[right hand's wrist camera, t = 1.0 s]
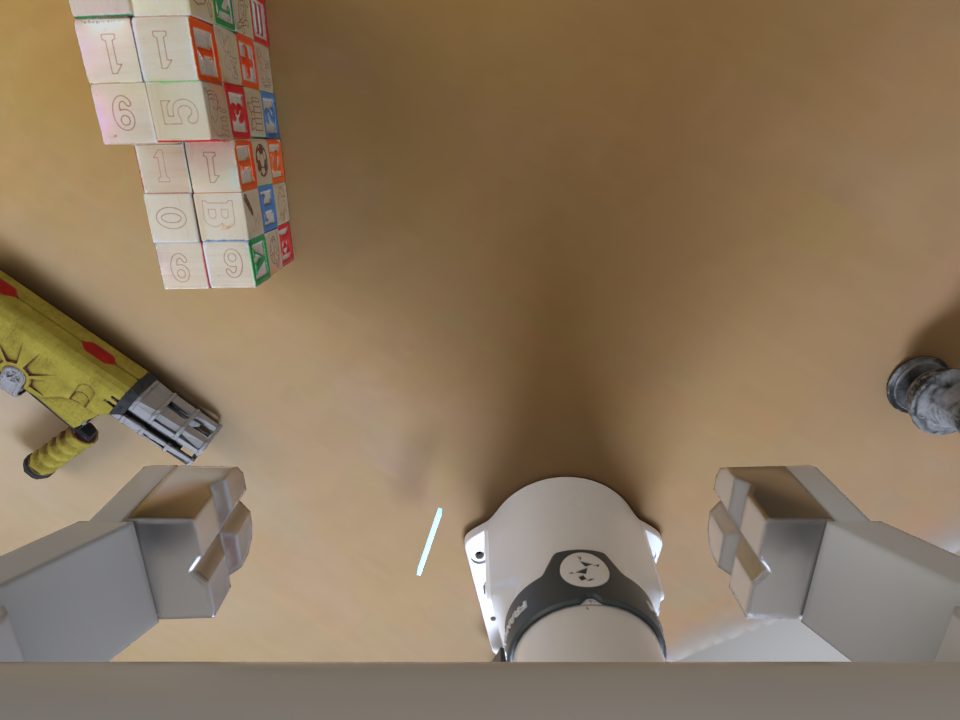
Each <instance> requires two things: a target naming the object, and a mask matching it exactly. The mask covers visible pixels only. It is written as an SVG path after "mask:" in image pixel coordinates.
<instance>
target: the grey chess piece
mask: <svg viewBox="0 0 960 720" xmlns="http://www.w3.org/2000/svg"><path fill="white" fill-rule="evenodd" d="M887 397H888V400H889V402H890V403H891V405H892V406H893V407H894V408H896V409H898V410H899V411H901V412H906V413H909V414H910V416H911V418H912V420H913V423H914V424H915V425H916V426H917V427H918V428H919V429H920V430H922V431H924V432H926V433H929V434H934V435H945V434H949V433H953V432H956V431H958V432H959V433H960V369H954V368H949V367H948V366H947V365H946V364H945V362H943V361H941V360H940V359H938V358H934V357H930V356H928V357H918V358H915V359H912V360H910V361H908V362H906V363H904V364H903V365H902V366H900V367H899V368H898V369H897V370H896V371H895V372H894V374H893V375H892V377H891V378H890V380H889V382H888V387H887Z"/></svg>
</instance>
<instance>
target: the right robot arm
mask: <svg viewBox="0 0 960 720" xmlns="http://www.w3.org/2000/svg"><path fill="white" fill-rule="evenodd" d="M245 490H246V485H245V480H244V475H243V472H242V471H241V470H240V469H239V468H238V467H226V466H177V465H158V466H147V467H143V468H142V469H141V470H140V471H139V472H138V473H137V474H136V475H135V476H134V477H133V478H132V479H131V480H130V481H129V482H128V483H127V484H126V485H125V486H124V487H123V488H122V489H121V490H120V491H119V492H118V493H117V494H116V495H115V496H114V497H113V498H112V499H111V500H110V501H109V502H108V503H107V504H106V505H105V506H104V507H103V508H102V509H101V510H100V511H99V512H98V513H97V514H96V515H95V516H94V517H93V518H92V519H91V520H90V521H79V522H77V523H75V524H72V525H70V526H68V527H66V528H63V529H61V530H59V531H57V532H54V533H52V534H50V535H48V536H45V537H43V538H41V539H39V540H36V541H34V542H32V543H30V544H27V545H25V546H23V547H21V548H18V549H16V550H14V551H12V552H9V553H7V554H5V555H2V556H0V720H960V557H959V556H957V555H955V554H953V553H951V552H948V551H946V550H944V549H942V548H939V547H937V546H935V545H933V544H930V543H928V542H926V541H924V540H921V539H919V538H917V537H915V536H912V535H910V534H908V533H906V532H903V531H901V530H899V529H897V528H894V527H892V526H890V525H888V524H885V523H883V522H881V521H870V520H869V519H868V518H867V517H866V516H865V515H864V514H863V513H862V512H861V511H860V510H859V509H858V508H857V507H856V506H855V505H854V504H853V503H852V502H851V501H850V500H849V499H848V498H847V497H846V496H845V495H844V494H843V493H842V492H841V491H840V490H839V489H838V488H837V487H836V486H835V485H834V484H833V483H832V482H831V481H830V480H829V479H828V478H827V477H826V476H825V475H824V474H823V473H822V472H821V471H820V470H819V469H818V468H816V467H813V466H811V465H795V466H764V467H726V468H720V469H719V471H718V473H717V475H716V479H715V484H714V490H715V492H716V494H717V495H718V497H719V498H720V501H719V502H718V503H717V505H716V506H715V507H714V508H713V509H712V510H711V511H710V514H709V522H708V538H709V546H710V549H711V552H712V555H713V558H714V560H715V561H716V563H717V565H718V567H719V568H721V569H722V570H724V571H725V572H727V573H728V574H730V575H731V579H730V584H729V587H730V589H731V591H732V593H733V595H734V596H735V598H736V600H737V602H738V604H739V605H740V607H741V609H742V611H743V613H744V614H745V616H746V618H773V619H802V620H801V622H802V623H803V624H805V625H806V626H807V627H809V628H810V629H811V630H812V631H814V632H815V633H816V634H817V635H819V636H820V637H821V638H823V639H824V640H825V641H826V642H828V643H829V644H830V645H831V646H833V647H834V648H835V649H836V650H838V651H839V652H840V653H842V654H843V655H844V656H845V657H847V658H848V659H849V660H850V661H852V662H666V645H665V641H664V635H663V630H662V626H661V623H660V620H659V617H658V616H659V612H660V608H659V606H660V601H661V600H663V599H664V590H663V587H662V583H661V580H660V577H659V573H658V570H657V567H656V563H657V560H658V557H659V554H660V552H661V549H662V545H663V543H662V539H661V535H660V533H659V532H658V531H657V530H656V529H654V528H653V527H651V526H650V525H648V524H646V523H645V522H643V521H641V520H639V519H638V518H637V517H636V515H635V514H634V513H633V511H632V510H631V508H630V507H629V506H628V504H627V503H626V502H625V501H624V500H623V498H622V497H620V496H619V495H618V494H617V493H616V492H614V491H613V490H611V489H610V488H608V487H606V486H605V485H602V484H600V483H598V482H595V481H592V480H588V479H584V478H578V477H556V478H549V479H545V480H541V481H537V482H535V483H532V484H530V485H528V486H526V487H524V488H522V489H520V490H518V491H517V492H515V493H514V494H513V495H511V496H510V497H509V498H508V499H507V500H506V501H505V502H504V503H503V504H502V505H501V506H500V507H499V509H498V510H497V511H496V513H495V514H494V515H493V516H492V517H491V518H490V519H489V520H488V521H486V522H485V523H483V524H481V525H479V526H477V527H476V528H474V529H472V530H471V531H470V532H468V533H467V535H466V536H465V538H464V543H465V550H466V554H467V558H468V561H469V565H470V569H471V573H472V577H473V580H474V584H475V588H476V592H477V595H478V599H479V603H480V607H481V611H482V614H483V618H484V622H485V626H486V629H487V633H488V637H489V641H490V645H491V648H492V650H493V652H494V653H495V654H497V655H496V656H495V658H494V660H493V662H108V661H110V660H111V659H112V658H114V657H115V656H116V655H117V654H119V653H120V652H121V651H122V650H124V649H125V648H126V647H128V646H129V645H130V644H131V643H133V642H134V641H135V640H136V639H138V638H139V637H140V636H142V635H143V634H144V633H145V632H147V631H148V630H149V629H150V628H152V627H153V626H154V625H156V624H157V623H158V622H159V621H158V619H186V618H214V616H215V615H216V613H217V611H218V609H219V607H220V605H221V604H222V602H223V600H224V598H225V596H226V595H227V593H228V591H229V589H230V587H231V584H230V579H229V575H230V574H232V573H233V572H235V571H236V570H238V569H239V568H241V567H242V565H243V563H244V561H245V559H246V557H247V555H248V552H249V548H250V544H251V539H252V520H251V514H250V511H249V510H248V509H247V508H246V507H245V506H244V505H243V503H242V502H241V501H240V498H241V497H242V495H243V494H244V492H245ZM441 513H442V509H441V508H438V511H437V514H436V517H435V520H434V523H433V526H432V529H431V531H430V534H429V537H428V540H427V543H426V546H425V549H424V552H423V555H422V558H421V561H420V564H419V567H418V572H417V575H421V572H422V569H423V567H424V564H425V561H426V558H427V555H428V552H429V549H430V546H431V543H432V541H433V538H434V535H435V532H436V529H437V526H438V523H439V520H440V517H441ZM476 552H482V553H481V554H478V553H476Z"/></svg>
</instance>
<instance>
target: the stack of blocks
mask: <svg viewBox="0 0 960 720" xmlns="http://www.w3.org/2000/svg"><path fill="white" fill-rule="evenodd" d="M69 3H70V7H71V11H72V14H73V16H74V17H75V18H76V21H75V24H74V27H75V30H76V36H77V39H78V43H79V47H80V51H81V55H82V59H83V63H84V67H85V71H86V75H87V79H88V81H89V82H90V84H91V93H92V97H93V101H94V105H95V109H96V113H97V117H98V121H99V125H100V129H101V133H102V137H103V141H104V143H105V145H111V144H125V145H134V147H135V152H136V156H137V161H138V166H139V170H140V175H141V180H142V185H143V189H144V201H145V205H146V210H147V215H148V220H149V224H150V229H151V234H152V238H153V242H154V243H155V244H156V251H157V256H158V261H159V265H160V271H161V274H162V280H163V285H164V288H165V289H209V288H237V287H239V288H244V287H248V288H249V287H257V286H259V285H260V284H262V283H263V282H264V281H266V280H267V279H269V278H270V277H271V275H273V274H274V273H276V272H277V271H279V270H281V269H282V268H283V267H284V266H285V265H287V264H289V263H290V262H292V261H293V260H294V256H293V249H292V241H291V234H290V226H289V222H288V221H289V220H290V217H289V208H288V200H287V192H286V184H285V173H284V165H283V156H282V148H281V141H280V139H279V130H278V123H277V114H276V105H275V97H274V94H273V82H272V74H271V66H270V57H269V50H268V48H269V39H268V30H267V21H266V12H265V3H264V0H69Z"/></svg>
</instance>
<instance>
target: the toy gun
mask: <svg viewBox="0 0 960 720" xmlns="http://www.w3.org/2000/svg"><path fill="white" fill-rule="evenodd" d="M0 388H1V389H3V390H4V391H6V392H8V393H9V394H11V395H12V396H13V397H18V396H20V395H22V394H23V393H25V392H26V391H27V392H29V393H30V394H31V395H32V396H33V397H35V398H36V399H37V400H38V401H39V402H41V403H42V404H43V405H44V406H45V407H46V408H48V409H49V410H50V411H51V412H52V413H54V414H55V415H56V416H57V417H58V418H60V419H61V420H62V421H63V422H65V423H66V424H67V425H68V426H70V427H68V428H67V429H66V430H65V431H63V432H61V433H60V434H59V435H58V436H57V437H54V438H52V440H51V441H50V442H49V443H47V444H44V445H43V446H42V447H41V448H40V450H36V451H35V452H34V453H31V454H29V455H28V456H27V457H26V458H25V459H24V462H23V467H24V472H25V473H27V474H28V475H29V476H30V477H32V478H34V479H43V478H48V477H50V476H51V475H52V474H53V473H54V472H55V471H56V470H57V469H58V468H59V467H62V466H63V465H64V464H66V463H67V462H68V461H69V460H71V459H72V458H74V457H75V456H76V455H77V454H80V453H81V452H82V451H83V450H84V449H86V448H87V447H90V446H91V445H93V444H94V443H95V442H96V441H97V440H98V431H97V429H96V428H95V427H94V426H93V424H91V423H89V421H90V420H91V419H92V418H93V417H96V416H98V415H102V414H109V415H111V416H112V417H114V418H115V419H117V420H119V423H123V424H125V425H126V426H128V427H129V428H131V429H132V430H133V431H135V432H136V433H138V434H139V435H140V436H143V437H145V438H146V439H148V440H149V441H151V442H152V443H154V444H155V445H157V446H158V447H160V448H161V449H163V450H162V451H164V452H166V451H167V452H168V453H170V454H171V455H173V456H174V457H176V458H177V459H179V460H180V461H182V462H183V463H184V464H186V466H190V465H191V464H192V463H193V462H194V461H195V459H196V458H197V456H199V455H200V454H201V453H202V452H203V451H204V450H205V448H206V447H207V446H208V445H209V443H210V442H211V441H212V439H213V438H214V437H215V435H216V434H217V433H218V432H219V430H220V429H221V427H222V426H223V425H221V424H217V423H216V422H214V421H213V420H212V419H210V418H209V417H207V416H206V415H204V414H203V413H202V412H200V410H199V409H195V408H194V407H193V406H191V405H190V404H188V403H187V402H186V401H184V400H183V399H182V398H180V397H179V396H177V394H176V393H172V392H171V391H170V390H169V389H168V388H166V387H165V386H164V385H163V384H161V383H160V382H159V381H158V380H157V378H156V377H155V376H154V375H152V374H151V373H150V372H148V371H147V370H145V369H144V368H142V367H141V366H139V365H138V364H136V363H135V362H134V361H132V360H131V359H129V358H128V357H126V356H125V355H123V354H122V353H120V352H119V351H117V350H116V349H115V348H113V347H112V346H110V345H109V344H107V343H106V342H104V341H103V340H101V339H100V338H99V337H97V336H96V335H94V334H93V333H91V332H90V331H88V330H87V329H85V328H84V327H83V326H81V325H80V324H78V323H77V322H75V321H74V320H72V319H71V318H69V317H68V316H67V315H65V314H64V313H62V312H61V311H59V310H58V309H56V308H55V307H53V306H52V305H50V304H49V303H48V302H46V301H45V300H43V299H42V298H40V297H39V296H37V295H36V294H34V293H33V292H32V291H30V290H29V289H27V288H26V287H24V286H23V285H21V284H20V283H18V282H17V281H16V280H14V279H13V278H11V277H10V276H8V275H7V274H5V273H4V272H2V271H1V270H0ZM201 424H203V425H205V426H206V427H208V428H209V429H210V430H212V431H213V432H212V433H211V435H209V434H208V433H207V432H205V431H204V430H202V429H201V428H199V427H198V426H200V425H201ZM182 446H184V447H186V448H187V449H189V450H190V451H192V452H193V453H195V454H194V455H193V456H192V457H191V456H189V455H188V454H186V453H185V452H183V451H182V450H180V449H181V448H182Z"/></svg>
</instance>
